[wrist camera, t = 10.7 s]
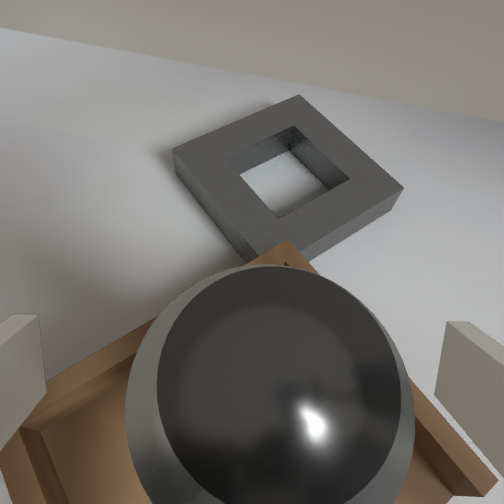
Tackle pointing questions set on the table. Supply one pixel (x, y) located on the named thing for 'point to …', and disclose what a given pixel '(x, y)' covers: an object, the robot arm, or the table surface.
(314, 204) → the socket
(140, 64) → the table surface
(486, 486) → the brown wooden tray
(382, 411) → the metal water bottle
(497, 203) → the table surface
